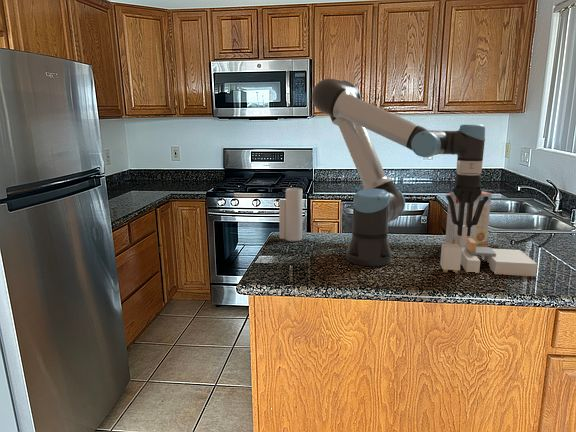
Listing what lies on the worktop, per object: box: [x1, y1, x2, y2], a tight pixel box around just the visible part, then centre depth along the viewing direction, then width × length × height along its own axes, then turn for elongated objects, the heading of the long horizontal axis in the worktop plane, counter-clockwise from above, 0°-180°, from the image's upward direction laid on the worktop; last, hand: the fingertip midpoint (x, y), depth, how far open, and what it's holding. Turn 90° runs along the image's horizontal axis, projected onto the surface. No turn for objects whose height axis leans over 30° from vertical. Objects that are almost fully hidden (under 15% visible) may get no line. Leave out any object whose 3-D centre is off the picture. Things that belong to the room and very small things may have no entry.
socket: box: [460, 247, 538, 277], centre depth 140 cm, size 20×15×4 cm
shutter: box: [465, 238, 496, 256], centre depth 142 cm, size 8×8×4 cm
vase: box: [278, 187, 303, 242], centre depth 172 cm, size 11×7×20 cm, turn 40°
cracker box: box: [444, 190, 492, 247], centre depth 160 cm, size 14×6×21 cm, turn 100°
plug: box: [439, 242, 462, 274], centre depth 135 cm, size 5×5×8 cm
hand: (462, 245), depth 143 cm, fingers closed
